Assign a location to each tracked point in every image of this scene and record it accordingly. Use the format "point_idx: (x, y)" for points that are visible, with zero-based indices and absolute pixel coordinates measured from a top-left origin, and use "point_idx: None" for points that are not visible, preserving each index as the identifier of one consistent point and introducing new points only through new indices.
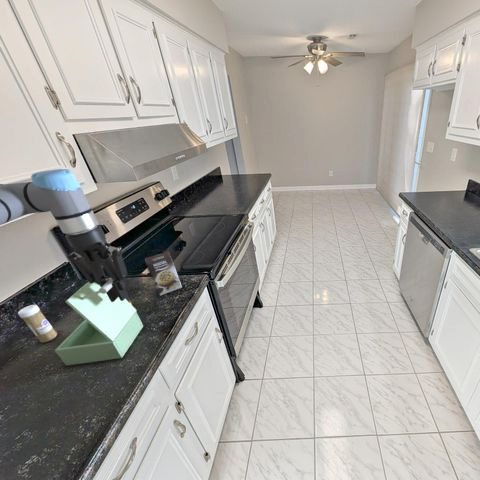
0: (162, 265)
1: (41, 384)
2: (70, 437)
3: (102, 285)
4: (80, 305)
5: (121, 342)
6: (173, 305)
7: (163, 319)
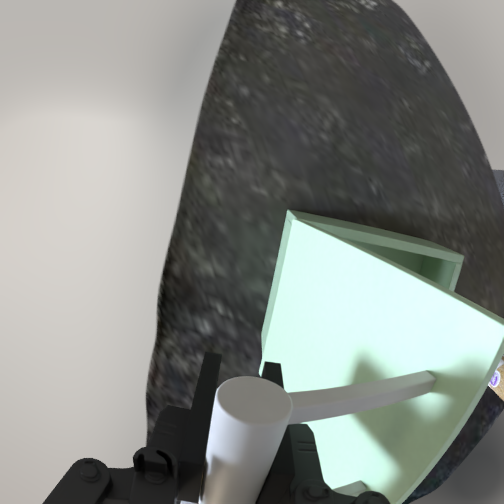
0: None
1: (457, 197)
2: (317, 11)
3: (289, 467)
4: (428, 325)
5: (286, 243)
6: (191, 391)
7: (203, 341)
